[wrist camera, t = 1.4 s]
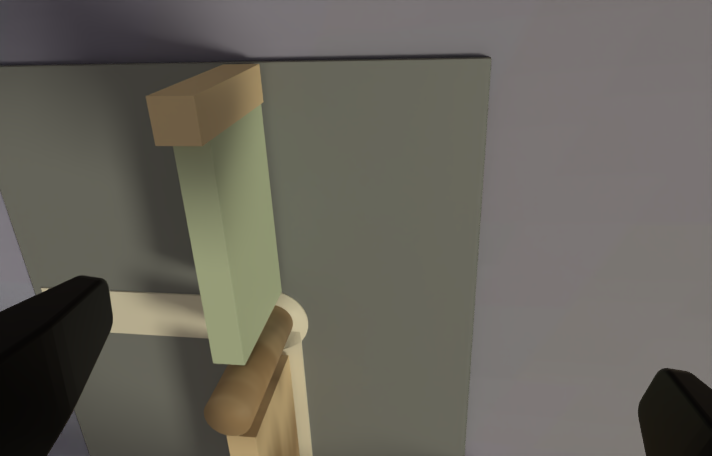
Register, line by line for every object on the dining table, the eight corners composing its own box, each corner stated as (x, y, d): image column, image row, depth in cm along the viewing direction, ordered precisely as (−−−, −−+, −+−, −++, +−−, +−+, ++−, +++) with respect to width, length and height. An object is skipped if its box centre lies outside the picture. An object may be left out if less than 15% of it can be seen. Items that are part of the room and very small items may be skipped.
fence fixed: (312, 488, 30) (281, 612, 24) (281, 485, 30) (243, 607, 24) (293, 299, 25) (248, 399, 19) (256, 298, 25) (200, 396, 19)
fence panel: (284, 291, 24) (240, 380, 19) (253, 290, 24) (201, 377, 19) (259, 64, 20) (194, 95, 14) (222, 64, 20) (145, 96, 15)
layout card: (460, 503, 29) (460, 511, 28) (99, 467, 32) (94, 474, 31) (490, 57, 19) (491, 59, 19) (-33, 66, 22) (-43, 68, 22)
